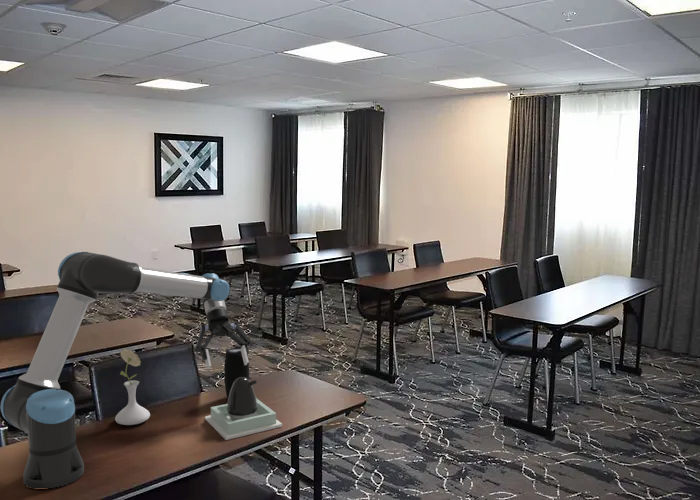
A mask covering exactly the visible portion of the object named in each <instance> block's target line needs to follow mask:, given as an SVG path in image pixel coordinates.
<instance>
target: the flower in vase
mask: <svg viewBox="0 0 700 500" xmlns="http://www.w3.org/2000/svg"><path fill="white" fill-rule="evenodd" d="M120 357H121V358H122V360H123V361H124V362H125V363H126V367H125V370H124V371H123V370H121V371H120V373H119V375H120V376H123V377H125V378H126V377H127V380H128V381H125V382H124V383H123V386H124V387H125V388H126V390H127V393H128V395H127V397H128V401H127V404H126V406H125V407H123V408H122V409H121V410H120V411H118V412H117V414H116V415H115V418H114V420H115V421H116V423H117V424H119V425H124V426H132V425H133V426H134V425H139V424H142V423H144V422H146V421H147V420H148V419H149V418H150V417H151V413H150V411H149V410H148V409H146V408H145V407H143V406H141V405H140V404H139V403H138V402H137V398H136V392H137V387H138V386H139V384H140V381H139V380H132V379H133V378H135V377H136V376H137V375H138V373H136V374H133V375H132V376H131V377H129V376H128V372H127V370H128V366H129V365H131V366H132V367H139V366H141V363H142V361H141V360H140V359H141V358H139V355H138V354H136V352H133V350H132V349H130V350H128V349H126V348H125V349H123V350H121V351H120Z"/></svg>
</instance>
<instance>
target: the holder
mask: <svg viewBox="0 0 700 500" xmlns="http://www.w3.org/2000/svg"><path fill="white" fill-rule="evenodd" d="M256 401H257V411H256V414H255V416H254V417H249V418H245V419H240V420H236V421H233V420H232V419H231V418H230V416H229V414H228V412H227V404H228V403H226V404H220V405H216V406H215V405H214V406H210V414H209V415H206V416H204V420H205V421H206V422H207V423H208V424H209V425H210V426H211V427H213V428H214V430H215V431H216V432H217V433H218V434H219V435H220V436H221V437H222V438H223V439H224V440H225V441H227V440H233V439H237V438H241V437H245V436H249V435H253V434H257V433H262V432H267V431H269V430H270V431H271V430H273V429H278V428H283V423H282V422H281V421H279V419H277V412H275V411H274V410H273V409H271V408H270V407H269V406H268V405H266V404H265V403H264V402H262V401H261V400H259V399H258V398H257V397H256Z"/></svg>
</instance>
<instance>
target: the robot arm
mask: <svg viewBox="0 0 700 500" xmlns="http://www.w3.org/2000/svg"><path fill="white" fill-rule="evenodd" d="M57 276H58V278H59V282H58V285H57V287H56V290H57V292H58V295H59V296H58V299H57V301H56V303H55V305H54V307H53V310H52V313H51V315H50V318H49V320H48V322H47V325H46V326H45V329H44V331H43V334H42V335H41V339H40V341H39V343H38V346H37V347H36V351H35V353H34V355H33V357H32V360H31V362H30V364H29V367H28V369H27V371H26V372H25V373H23V374H22V375H20V376H18V378H17V380H16V383H15V385H13V386H12V387H11V388H9V389H8V390H6V392H5V393H4V394H3V396H2V398H1V401H0V413H1V415H2V417H3V419H5V420H6V421H7V423H8V424H9V425H11V426H13V427H14V428H17V429H19V430H21V431H22V432H24V433H25V434H27V437H28V438H27V439H28V458H27V460H26V464H25V466H24V467H25V468H24V470H23V474H22V475H23V477H22V478H23V479H22V480H23V485H24V484H25V485H26V486H28V487H31V488H53V489H55V488H54V487H58V488H60V487H59V486H61V487H64V485H65V486H67V485H69V483H70V484H71V483H73V482H76V481H77V480H79V479H80V478H81V477H82V476H83V475H84V473H85V463H84V460H83V458H82V455H81V454H80V451H79V449H78V447H77V441H76V440H77V437H76V434H77V433H76V405H75V399H74V396H73V395H72V394H71V393H70V392H69V391H67V390H63V389H61V386H60V384H59V382H58V380H59V377H60V375H61V373H62V370H63V367H64V366H65V363H66V360H67V358H68V356H69V354H70V351H71V348H72V346H73V343H74V341H75V339H76V337H77V333H78V332H79V328H80V327H81V324H82V321H83V319H84V316H85V314H86V312H87V309H88V307H89V305H90V304H92V303H94V302H96V301H97V298H98V296H99V294H126V295H127V294H128V295H133V294H135V293H137V292H141V293H149V294H158V295H165V296H174V297H175V296H176V297H185V298H186V297H187V298H194V299H201V300H202V302H203V305H204V306H203V307H204V310H205V311H204V312H205V314H206V321H207V324H208V325H207V324H204V323H202V324H201V325H200V328H199V336H198V339H197V342H196V343H195V347H194V351H195V352H199V353H200V355H201V359H202V360H203V361H205V366H206V370H210V369H211V367H212V362H211V357H210V352H209V349H208V348H207V347H208V345H209V344H210V342H211V341H212V339H213V338H214V337H227V338H230V339H231V340H232V341H234V342H235V343H236V344H237V345H238V346H241V353H242V357H243V361H244V365H247V364H248V362H249V363H250V361H248V360H249V356H248V357H247V355H250V352H249V346H250V345H251V344H252V340H251V339H250V338H249V336H248V335H247V334H246V332H244V330H243V329H242V328H241V326H240V324H239V321H234V323H233V322H232V323H231V322H230V319H229V314H228V311H227V305H226V303H225V302H226V301H225V300H226V299H227V298H228V296H229V294H230V284H229V283H228V282H227V281H226V280H225V279H221V278H220V277H219V276H218V274H216V273H212V272H211V273H204V274H203V275H197V274H196V275H195V274H190V273H185V272H175V271H168V270H163V269H154V268H148V267H141V266H140V265H139V264H138V263H136V262H131V261H127V260H122V259H119V258H116V257H114V256H109V255H107V254H99V253H94V252H90V251H89V252H88V251H77V252H73V253H69V254H68V255H66V256H65V257H64V258H63V259H62V260H61V261H60V263H59V266H58V268H57ZM207 330H208V331H209V333H210V334H209V336H208V337H207V339H206V341H205V342H204V343H203V345H202V341H203V339H204V335H205V333H206V331H207ZM201 345H202V346H201ZM25 485H24V486H25ZM26 486H25V487H26ZM28 487H27V488H28Z"/></svg>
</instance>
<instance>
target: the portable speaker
mask: <svg viewBox="0 0 700 500" xmlns="http://www.w3.org/2000/svg"><path fill="white" fill-rule="evenodd" d="M248 355H249V354H248ZM248 355H247V357H248V358H249V356H248ZM224 356H225V358H224V361H223V362H224V368H223V369H224V370H223V371H224V372H223V373H224V375H223V376H224V377H223V378H224V379H223V380H224V381H223V382H224V387H225V388H224V389H225V394H226V398H227V399H228V398H229V393H230V390H231V388H232V385H233V383H234V381H235V380H236V379H237V378H239V377H246V378H247V379H248V380H249V381H250V361H249V360H250V359H248V361H249V362H248V364H247V365H244V361H243V357H242V353H241V346H240V345H236V346H235V347H234V346H233V347H231V348H226V349H225V355H224Z"/></svg>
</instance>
